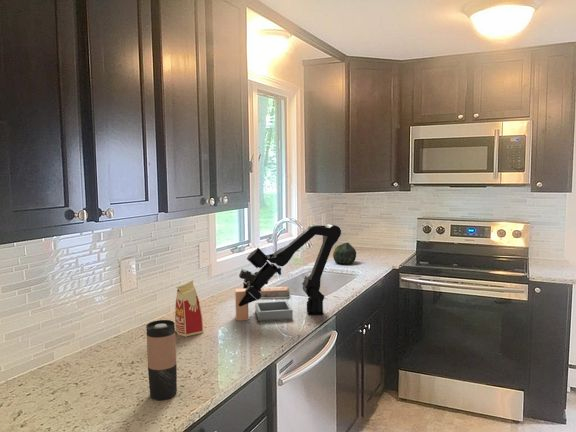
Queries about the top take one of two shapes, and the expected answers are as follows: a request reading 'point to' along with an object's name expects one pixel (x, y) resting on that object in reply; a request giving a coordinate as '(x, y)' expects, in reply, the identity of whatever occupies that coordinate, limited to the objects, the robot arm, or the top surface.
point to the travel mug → (162, 359)
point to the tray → (273, 311)
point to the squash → (344, 254)
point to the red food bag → (188, 311)
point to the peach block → (243, 310)
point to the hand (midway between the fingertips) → (238, 302)
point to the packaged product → (275, 293)
